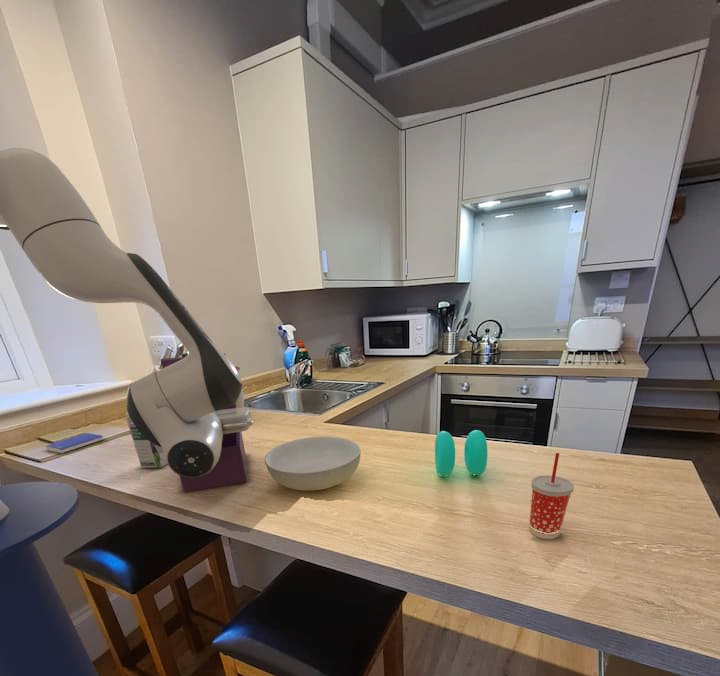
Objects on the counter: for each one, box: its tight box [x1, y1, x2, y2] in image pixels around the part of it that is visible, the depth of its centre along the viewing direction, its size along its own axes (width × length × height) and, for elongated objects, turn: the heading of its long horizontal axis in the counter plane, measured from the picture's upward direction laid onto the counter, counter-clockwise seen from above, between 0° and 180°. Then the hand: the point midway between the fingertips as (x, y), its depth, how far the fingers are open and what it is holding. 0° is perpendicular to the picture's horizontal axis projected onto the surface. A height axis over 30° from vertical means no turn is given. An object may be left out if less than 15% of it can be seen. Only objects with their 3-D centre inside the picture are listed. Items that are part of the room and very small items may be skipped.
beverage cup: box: [528, 452, 575, 540], centre depth 62 cm, size 6×6×14 cm
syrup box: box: [124, 411, 168, 469], centre depth 100 cm, size 6×6×14 cm
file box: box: [178, 432, 248, 493], centre depth 94 cm, size 18×14×9 cm
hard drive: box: [45, 432, 104, 454], centre depth 121 cm, size 2×8×12 cm
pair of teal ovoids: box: [434, 429, 488, 478], centre depth 85 cm, size 10×10×10 cm
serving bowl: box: [264, 436, 362, 492], centre depth 87 cm, size 21×21×7 cm
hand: (204, 414), depth 89 cm, fingers closed
